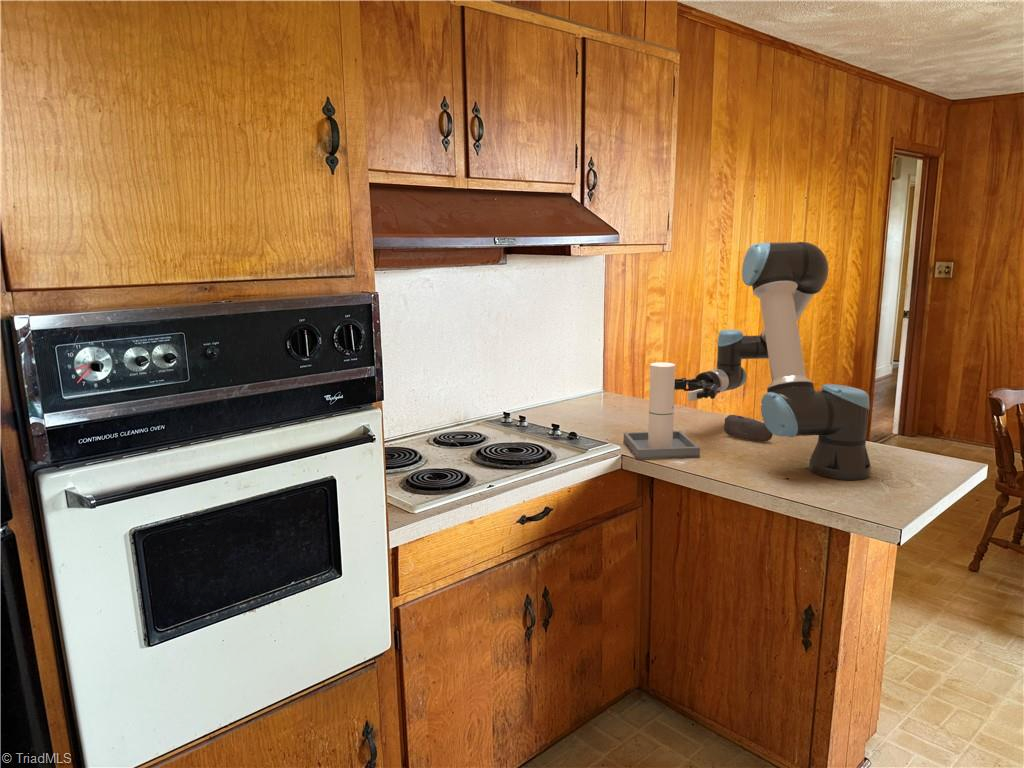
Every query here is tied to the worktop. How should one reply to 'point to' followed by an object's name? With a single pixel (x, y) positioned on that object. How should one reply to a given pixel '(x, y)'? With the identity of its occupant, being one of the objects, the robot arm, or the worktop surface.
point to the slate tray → (680, 448)
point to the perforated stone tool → (746, 428)
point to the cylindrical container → (661, 405)
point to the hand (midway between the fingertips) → (669, 393)
